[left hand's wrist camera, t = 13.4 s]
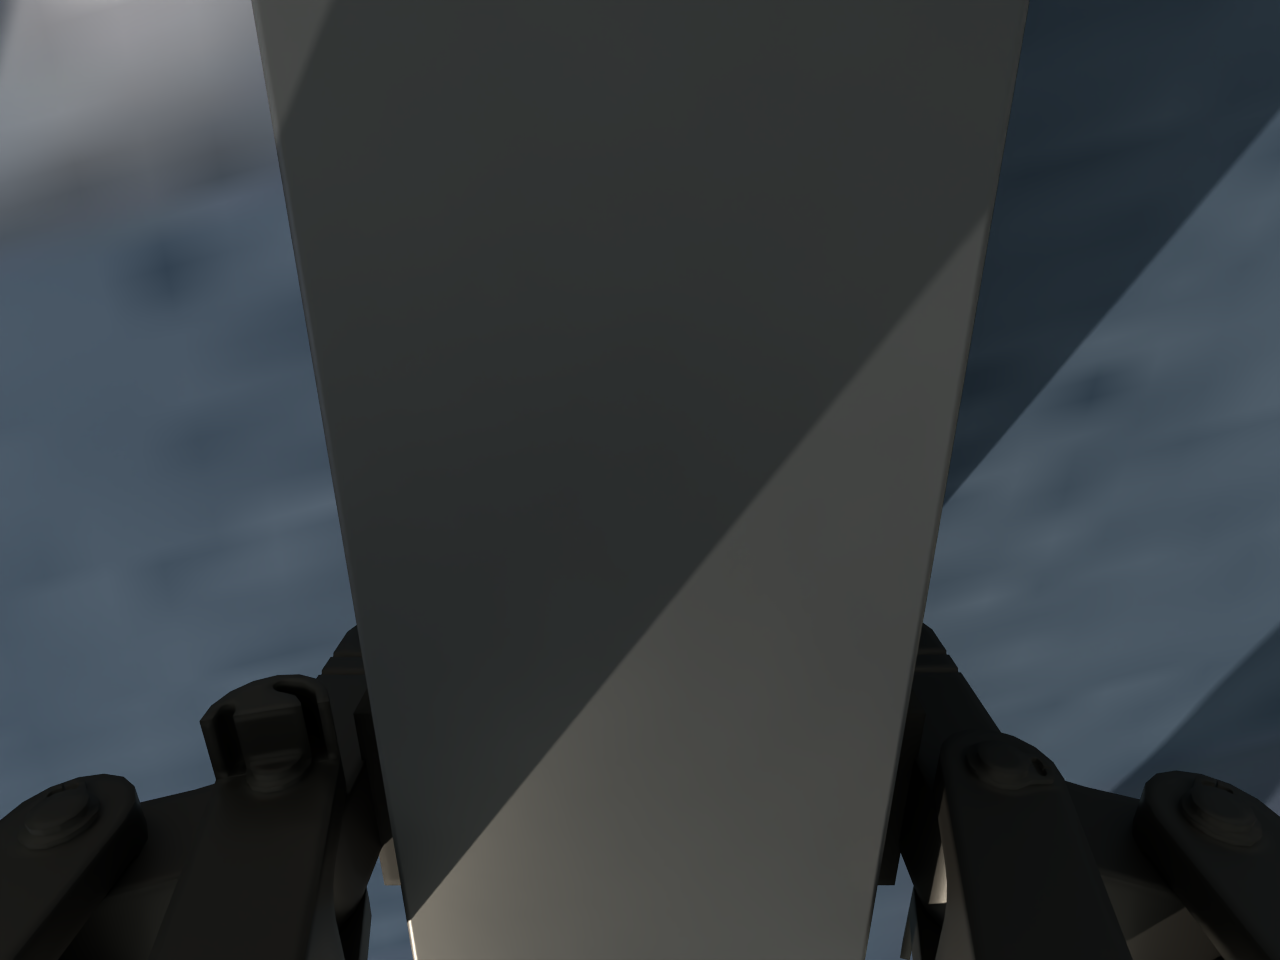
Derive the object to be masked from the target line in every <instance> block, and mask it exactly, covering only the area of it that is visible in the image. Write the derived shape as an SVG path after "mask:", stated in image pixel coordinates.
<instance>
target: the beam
mask: <svg viewBox="0 0 1280 960" xmlns="http://www.w3.org/2000/svg"><path fill="white" fill-rule="evenodd" d="M251 1H252V7H253V13H254V18H255V24H256V30H257V36H258V42H259V48H260V54H261V60H262V66H263V72H264V78H265V84H266V90H267V95H268V101H269V107H270V113H271V119H272V125H273V131H274V137H275V143H276V149H277V155H278V161H279V167H280V172H281V178H282V184H283V190H284V196H285V202H286V208H287V214H288V220H289V226H290V232H291V238H292V244H293V249H294V255H295V261H296V267H297V273H298V279H299V285H300V291H301V297H302V303H303V309H304V315H305V321H306V326H307V332H308V338H309V344H310V350H311V356H312V362H313V368H314V374H315V380H316V386H317V392H318V398H319V404H320V409H321V415H322V421H323V427H324V433H325V439H326V445H327V451H328V457H329V463H330V469H331V475H332V481H333V486H334V492H335V498H336V504H337V510H338V516H339V522H340V528H341V534H342V540H343V546H344V552H345V558H346V563H347V569H348V575H349V581H350V587H351V593H352V599H353V605H354V611H355V617H356V623H357V629H358V635H359V640H360V646H361V652H362V658H363V664H364V670H365V676H366V682H367V688H368V694H369V700H370V706H371V712H372V717H373V723H374V729H375V735H376V741H377V747H378V753H379V759H380V765H381V771H382V777H383V783H384V789H385V794H386V800H387V806H388V812H389V818H390V824H391V830H392V836H393V842H394V848H395V854H396V860H397V866H398V872H399V877H400V883H401V889H402V895H403V901H404V907H405V913H406V919H407V925H408V931H409V937H410V943H411V949H412V954H413V960H865V955H866V950H867V944H868V938H869V932H870V926H871V920H872V915H873V909H874V903H875V897H876V891H877V886H878V880H879V874H880V868H881V862H882V856H883V851H884V845H885V839H886V833H887V827H888V821H889V816H890V810H891V804H892V798H893V792H894V787H895V781H896V775H897V769H898V763H899V757H900V752H901V746H902V740H903V734H904V728H905V723H906V717H907V711H908V705H909V699H910V693H911V688H912V682H913V676H914V670H915V664H916V658H917V653H918V647H919V641H920V635H921V629H922V624H923V618H924V612H925V606H926V600H927V594H928V589H929V583H930V577H931V571H932V565H933V559H934V554H935V548H936V542H937V536H938V530H939V525H940V519H941V513H942V507H943V501H944V495H945V490H946V484H947V478H948V472H949V466H950V460H951V455H952V449H953V443H954V437H955V431H956V426H957V420H958V414H959V408H960V402H961V396H962V391H963V385H964V379H965V373H966V367H967V361H968V356H969V350H970V344H971V338H972V332H973V327H974V321H975V315H976V309H977V303H978V297H979V292H980V286H981V280H982V274H983V268H984V262H985V257H986V251H987V245H988V239H989V233H990V228H991V222H992V216H993V210H994V204H995V198H996V193H997V187H998V181H999V175H1000V169H1001V163H1002V158H1003V152H1004V146H1005V140H1006V134H1007V129H1008V123H1009V117H1010V111H1011V105H1012V99H1013V94H1014V88H1015V82H1016V76H1017V70H1018V64H1019V59H1020V53H1021V47H1022V41H1023V35H1024V30H1025V24H1026V18H1027V12H1028V6H1029V0H251Z"/></svg>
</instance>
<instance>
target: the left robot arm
mask: <svg viewBox="0 0 1280 960" xmlns="http://www.w3.org/2000/svg"><path fill="white" fill-rule="evenodd" d="M333 654H334V655H333V657H330V659H329V660H328V662H327V663H326V665H325V666H324V668H323V669H322V674H321V675H318V677H317V678H316V679H315V678H312V677H308V676H304V675H300V674H298V675H276V676H272V677H268V678H264V679H260V680H256V681H253V682H250V683H248V684H246V685H244V686H242V687H239V688H237V689H235V690H233V691H231V692H229V693H228V694H226V695H225V696H224V697H222V698H221V699H220V700H218V701H217V702H216V703H214V704H213V705H211V707H210V708H209V709H208V711H207V712H206V713H205V715H204V716H203V717H202V719H201V720H200V725H201V728H202V732H203V735H204V739H205V742H206V746H207V749H208V753H209V756H210V760H211V763H212V767H213V770H214V774H215V778H216V781H215V784H212V785H209V786H206V787H202V788H199V789H196V790H192V791H187V792H183V793H179V794H174V795H170V796H166V797H162V798H157V799H153V800H149V801H144V802H140V801H139V798H138V795H137V792H136V789H135V787H134V785H132V784H131V783H130V782H129V781H128V780H127V779H125V778H124V777H122V776H115V775H109V774H99V775H92V776H85V777H78V778H75V779H72V780H70V781H67V782H64V783H61V784H58V785H55V786H52V787H50V788H48V789H46V790H44V791H43V792H41V793H39V794H37V795H35V796H33V797H32V798H30V799H28V800H26V801H24V802H22V803H21V804H20V805H19V806H17V807H16V808H15V809H14V810H12V811H11V812H10V813H9V814H7V815H6V816H5V817H4V818H3V819H1V820H0V960H367V958H368V947H369V937H370V926H371V909H370V902H369V897H368V892H367V884H368V882H369V879H370V877H371V874H372V872H373V869H374V866H375V864H376V861H377V859H378V856H379V857H380V862H381V867H382V873H383V878H384V884H385V885H401V883H400V877H399V872H398V866H397V860H396V854H395V848H394V842H393V836H392V830H391V824H390V818H389V812H388V806H387V800H386V794H385V789H384V783H383V777H382V771H381V765H380V759H379V753H378V747H377V741H376V735H375V729H374V723H373V717H372V712H371V706H370V700H369V694H368V688H367V682H366V676H365V670H364V664H363V658H362V652H361V646H360V640H359V635H358V629H357V625H356V626H355V627H353V628H352V629H351V630H349V631H348V632H347V633H346V635H345V636H344V638H343V639H342V641H341V642H340V644H339V645H338V647H337V648H336V650H335V651H334V653H333ZM900 853H901V855H902V857H903V860H904V862H905V865H906V867H907V870H908V872H909V875H910V877H911V880H912V882H913V885H914V887H913V892H912V897H911V902H910V907H909V912H908V917H907V922H906V927H905V932H904V937H903V942H902V949H901V956H900V958H903V959H907V960H910V956H911V951H912V956H913V960H1280V817H1279V816H1278V815H1277V814H1276V813H1274V812H1273V811H1272V810H1271V809H1269V808H1268V807H1267V806H1266V805H1264V804H1263V803H1262V802H1261V801H1259V800H1258V799H1257V798H1255V797H1253V796H1251V795H1249V794H1247V793H1245V792H1244V791H1242V790H1240V789H1238V788H1236V787H1234V786H1233V785H1231V784H1228V783H1226V782H1223V781H1220V780H1217V779H1214V778H1211V777H1208V776H1205V775H1202V774H1197V773H1189V772H1182V771H1170V772H1164V773H1158V774H1156V775H1155V776H1153V777H1152V778H1151V779H1150V780H1149V781H1148V782H1146V784H1145V787H1144V790H1143V793H1142V795H1141V798H1140V799H1135V798H1131V797H1127V796H1122V795H1118V794H1114V793H1109V792H1105V791H1101V790H1097V789H1092V788H1088V787H1084V786H1081V785H1077V784H1074V783H1071V782H1067V781H1065V780H1064V778H1063V777H1062V775H1061V773H1060V772H1059V770H1058V769H1057V767H1056V766H1055V764H1054V763H1053V762H1052V761H1051V760H1050V759H1049V758H1048V757H1046V756H1045V755H1044V754H1043V753H1042V752H1040V751H1039V750H1038V749H1037V748H1036V747H1034V746H1032V745H1030V744H1028V743H1026V742H1024V741H1022V740H1020V739H1018V738H1016V737H1014V736H1012V735H1008V734H1004V733H1001V732H1000V730H999V729H998V727H997V726H996V724H995V723H994V721H993V720H992V718H991V717H990V715H989V714H988V712H987V711H986V709H985V708H984V706H983V705H982V703H981V702H980V700H979V699H978V697H977V696H976V694H975V693H974V691H973V690H972V688H971V687H970V685H969V684H968V682H967V681H966V679H965V678H964V676H963V675H962V673H961V672H958V667H957V666H956V664H955V663H954V661H953V660H952V658H951V657H950V655H947V654H946V649H945V648H944V646H943V645H942V643H941V642H940V640H939V639H938V637H937V636H936V634H935V633H934V631H933V630H932V629H931V628H929V627H928V626H927V625H925V624H924V623H923V624H922V629H921V635H920V641H919V647H918V653H917V658H916V664H915V670H914V676H913V682H912V688H911V693H910V699H909V705H908V711H907V717H906V723H905V728H904V734H903V740H902V746H901V752H900V757H899V763H898V769H897V775H896V781H895V787H894V792H893V798H892V804H891V810H890V816H889V821H888V827H887V833H886V839H885V845H884V851H883V856H882V862H881V868H880V874H879V880H878V885H895V880H896V874H897V869H898V864H899V858H900Z"/></svg>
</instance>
